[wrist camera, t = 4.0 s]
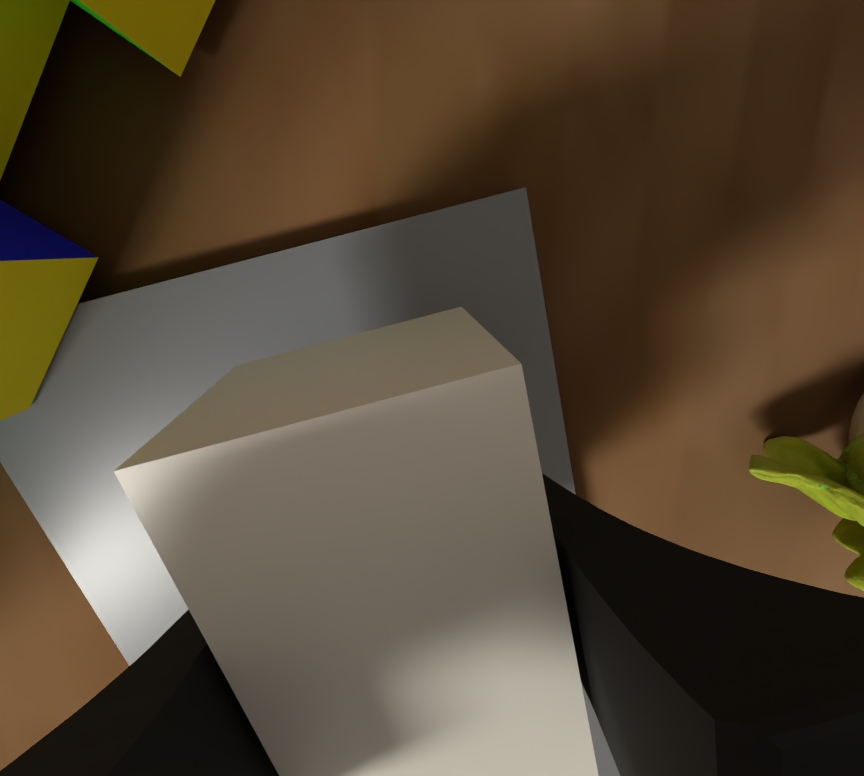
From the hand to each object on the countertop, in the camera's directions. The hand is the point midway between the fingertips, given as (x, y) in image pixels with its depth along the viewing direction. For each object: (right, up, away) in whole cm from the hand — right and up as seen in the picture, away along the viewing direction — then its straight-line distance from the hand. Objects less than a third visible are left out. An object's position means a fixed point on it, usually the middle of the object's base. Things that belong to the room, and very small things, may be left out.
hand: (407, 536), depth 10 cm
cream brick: (0, 0, +1) cm, 1 cm away
